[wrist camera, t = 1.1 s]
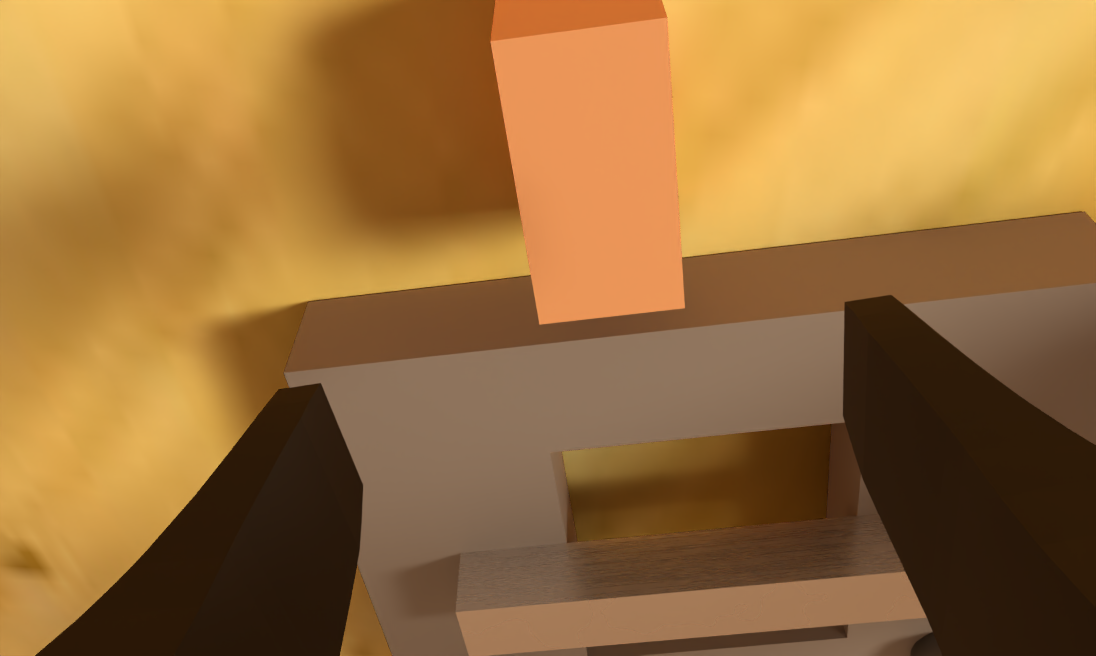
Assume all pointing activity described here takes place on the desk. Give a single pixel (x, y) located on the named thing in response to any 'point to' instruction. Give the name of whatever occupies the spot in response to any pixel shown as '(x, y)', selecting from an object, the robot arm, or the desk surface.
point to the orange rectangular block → (592, 153)
